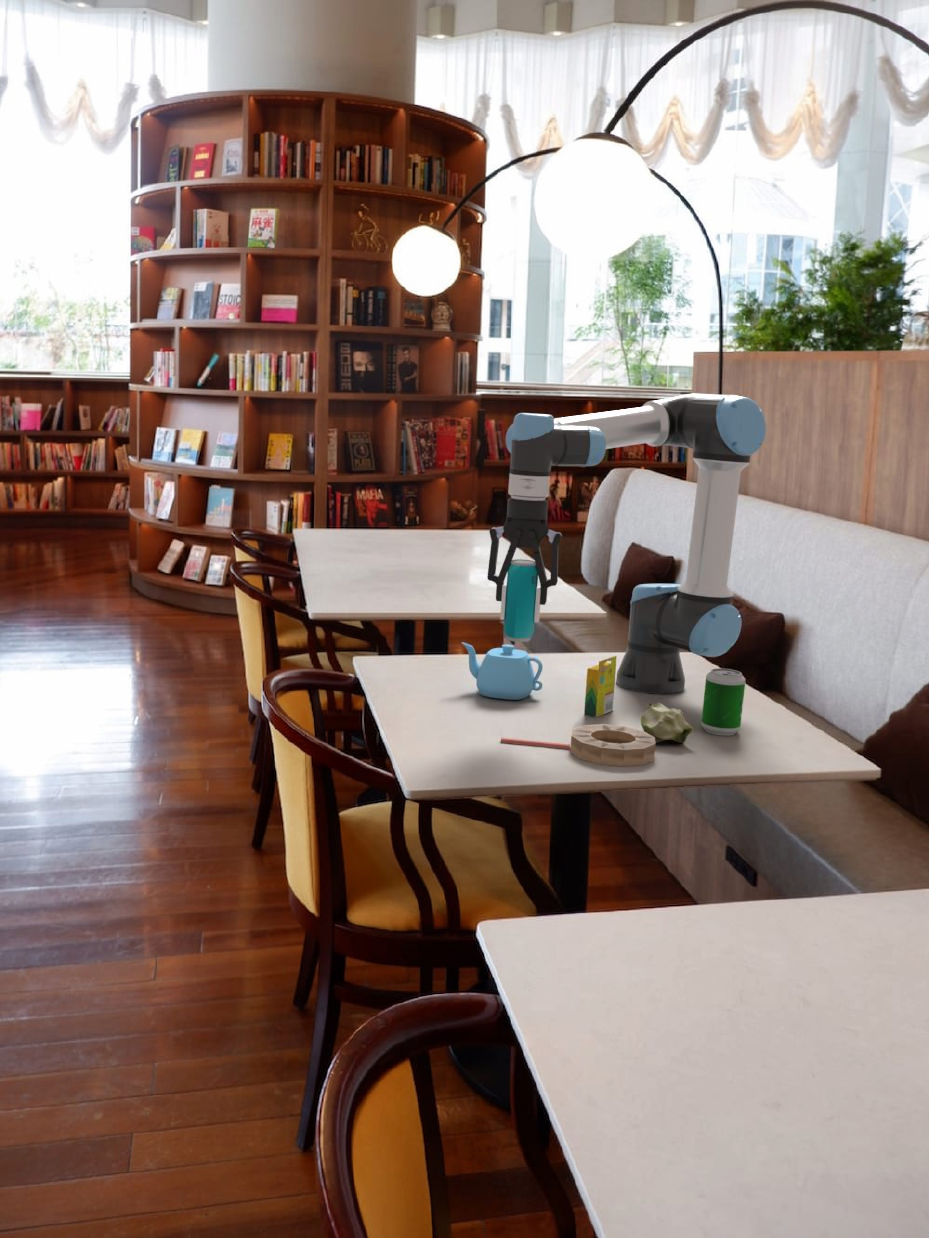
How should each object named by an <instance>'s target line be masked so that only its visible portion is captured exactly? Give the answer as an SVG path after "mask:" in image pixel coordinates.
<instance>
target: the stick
mask: <svg viewBox="0 0 929 1238" xmlns="http://www.w3.org/2000/svg"><path fill="white" fill-rule="evenodd" d="M500 743H503V744H504V743H506V744H515V745H524V746H525V745H526V746H534V747H535V746H536V747H546V748H555V749H557V748H558V749H565V750H570V748H571V743H570V744H569V743H568V744H567V743H559V742H558V743H557V742H547V741H538V740H526V739H519V738H518V739H516V738H509V737H507V738H506V737H505V738H504V737H501V738H500Z"/></svg>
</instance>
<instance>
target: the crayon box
mask: <svg viewBox="0 0 929 1238" xmlns="http://www.w3.org/2000/svg"><path fill="white" fill-rule="evenodd" d="M608 662H609V663H608ZM610 662H611V663H610ZM616 670H617V655H615V656H611V657H608V658H606V659H605V658H604V659H602V660H599V661H598V664H597V665H593V666H591V667H588V668H587V670H586V671H587V672H586V683H585V684H586V686H585V697H584V710H583V711H584V713H583V714H584V716H587V717H592V718H595V719H596V718H598V717H600V716H603V715H605V714H607V713H610V712H613V711H614V699H615V687H616V674H617V671H616Z"/></svg>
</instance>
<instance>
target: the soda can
mask: <svg viewBox="0 0 929 1238" xmlns="http://www.w3.org/2000/svg"><path fill="white" fill-rule="evenodd" d="M704 684H705V685H704V693H703V694H704V695H703V704H702V711H701V712H702V714H701V726H702V727H703V728H704V730H705V731H706V733H709V734H712V735H717V736H722V737H723V736H724V737H725V736H728V737H729V736H734V735H736V732H738V731H740V729H741V725H742V716H743V706H744V705H743V704H744V697H745V689H746V678H745V677H744V675H743V674H742V672H741V671H738V670H735V669H731V668H722V667H720V668H719V667H718V668H713V669H711V671H710V672H708V673H706V675H705V683H704Z"/></svg>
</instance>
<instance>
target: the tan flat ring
mask: <svg viewBox="0 0 929 1238" xmlns="http://www.w3.org/2000/svg"><path fill="white" fill-rule="evenodd" d="M655 750H656V743H655V737H653V736H651V735H650V734H648V733H646V732H644V730H642V729H637V728H634V727H629V726H625V725H617V724H616V725H615V724H614V725H613V724H605V723H601V724H586V725H581V726H579V727H576V728H572V731H571V737H570V749H569V751H570V753H571V754H573V755H575V756H576V757H578V758H579V759H581V760H584V761H589V762H591V763H594V764H599V765H604V766H605V765H606V766H617V767H630V766H631V767H632V766H643V765H646V764H648V763H651V762H652V761H655V754H656V753H655V752H656V751H655Z"/></svg>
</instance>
